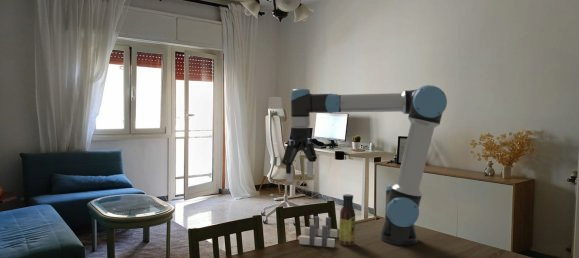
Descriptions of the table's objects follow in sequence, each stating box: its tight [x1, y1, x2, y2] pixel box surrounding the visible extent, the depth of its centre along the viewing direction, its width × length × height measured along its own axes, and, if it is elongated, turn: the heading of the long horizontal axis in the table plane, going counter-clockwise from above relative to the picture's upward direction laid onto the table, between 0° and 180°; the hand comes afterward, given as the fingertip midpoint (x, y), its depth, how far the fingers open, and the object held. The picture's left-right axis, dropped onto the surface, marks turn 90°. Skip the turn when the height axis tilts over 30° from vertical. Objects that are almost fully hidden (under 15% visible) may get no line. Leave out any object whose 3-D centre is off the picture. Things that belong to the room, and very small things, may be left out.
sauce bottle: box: [338, 193, 356, 247], centre depth 160 cm, size 6×6×20 cm
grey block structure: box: [298, 215, 338, 248], centre depth 163 cm, size 14×13×8 cm
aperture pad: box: [296, 234, 310, 242], centre depth 165 cm, size 8×8×1 cm
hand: (300, 179), depth 161 cm, fingers open, 13 cm apart
